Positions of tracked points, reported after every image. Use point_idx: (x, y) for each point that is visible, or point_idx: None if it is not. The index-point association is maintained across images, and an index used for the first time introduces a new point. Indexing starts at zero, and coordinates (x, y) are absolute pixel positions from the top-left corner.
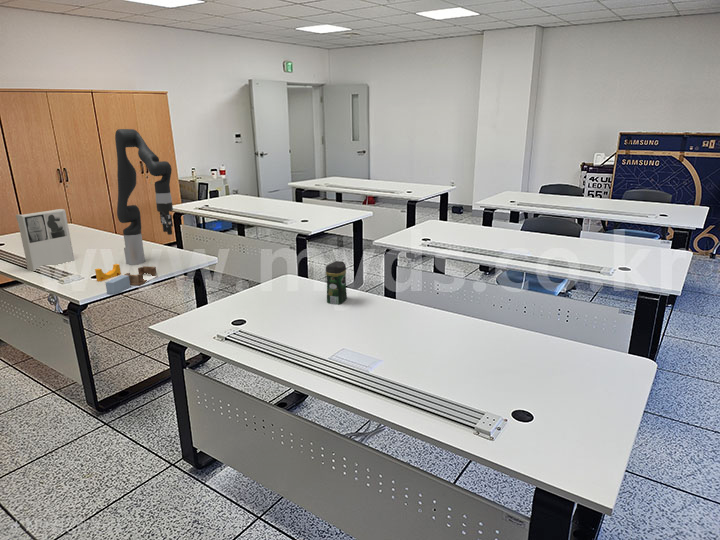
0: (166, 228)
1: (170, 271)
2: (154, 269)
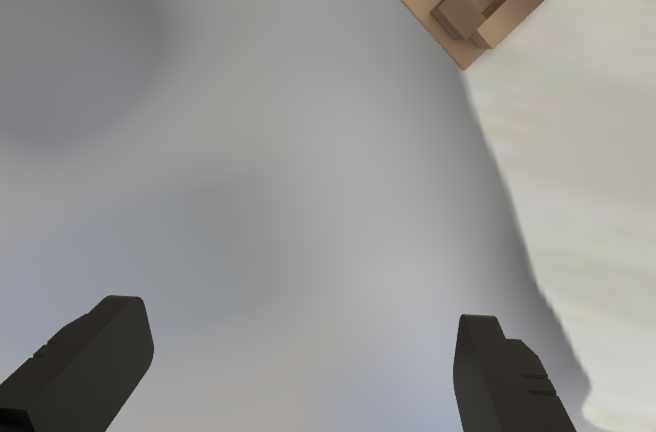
0: (467, 419)
1: (517, 160)
2: (452, 27)
